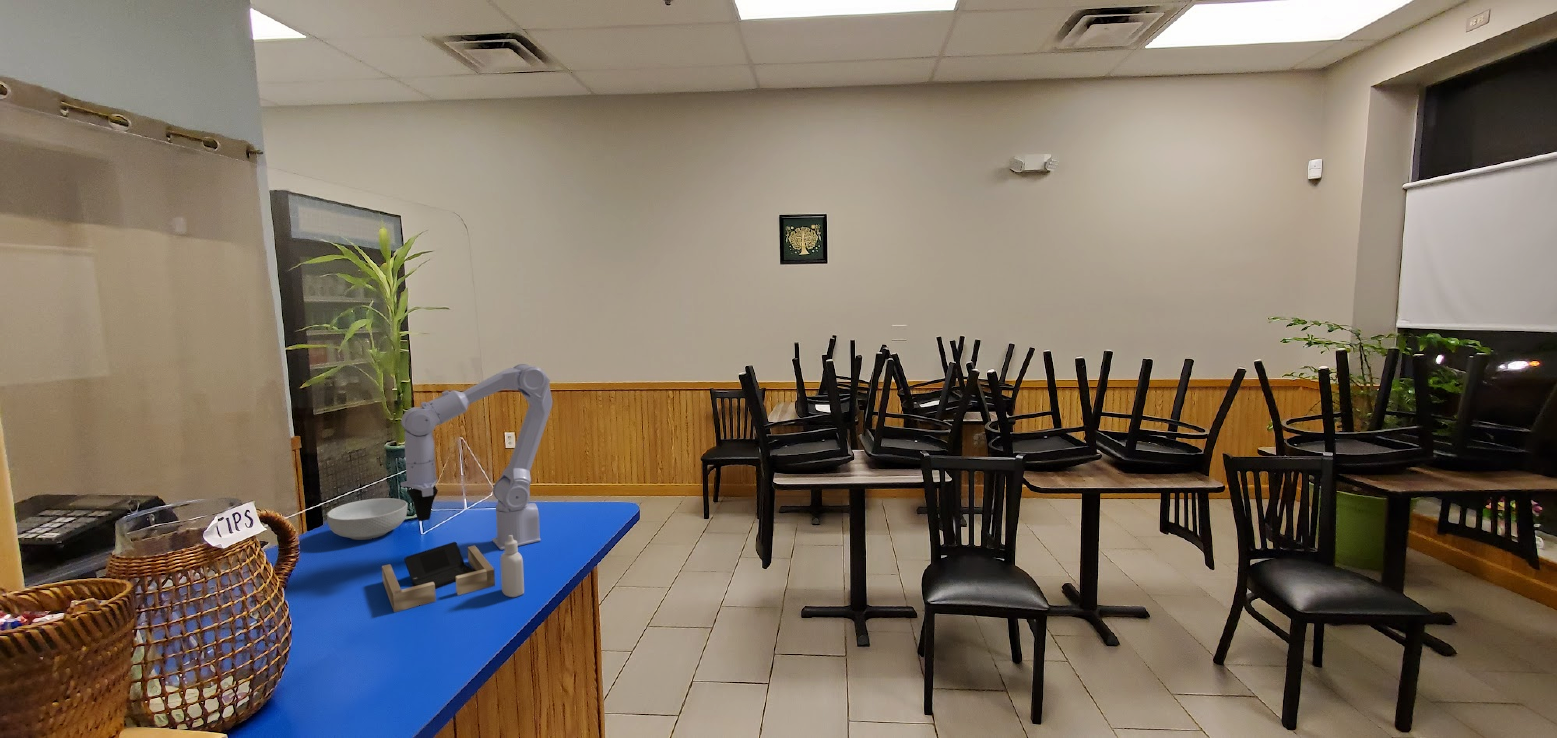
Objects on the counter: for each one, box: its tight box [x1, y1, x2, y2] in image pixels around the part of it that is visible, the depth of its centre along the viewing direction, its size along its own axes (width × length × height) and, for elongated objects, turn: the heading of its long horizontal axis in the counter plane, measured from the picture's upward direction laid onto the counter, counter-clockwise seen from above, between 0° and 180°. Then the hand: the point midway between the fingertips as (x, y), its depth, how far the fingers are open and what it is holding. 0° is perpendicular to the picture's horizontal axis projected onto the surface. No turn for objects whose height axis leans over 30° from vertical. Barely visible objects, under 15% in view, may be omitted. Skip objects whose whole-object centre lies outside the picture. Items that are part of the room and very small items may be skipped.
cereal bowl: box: [326, 497, 408, 541], centre depth 155 cm, size 17×17×7 cm
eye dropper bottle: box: [500, 535, 525, 598], centre depth 124 cm, size 4×6×12 cm
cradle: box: [381, 544, 496, 613], centre depth 128 cm, size 18×16×4 cm
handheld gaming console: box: [403, 541, 477, 590], centre depth 131 cm, size 12×7×10 cm
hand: (423, 519), depth 138 cm, fingers closed
